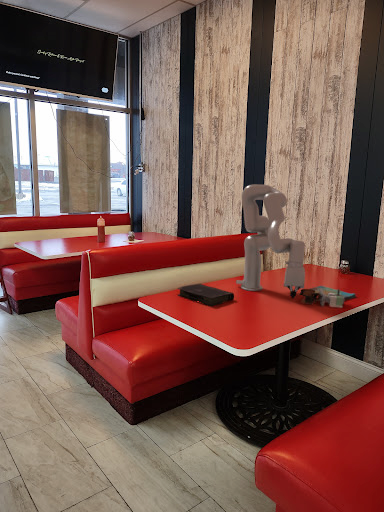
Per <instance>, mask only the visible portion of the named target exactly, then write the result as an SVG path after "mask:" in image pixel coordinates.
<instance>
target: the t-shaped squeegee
mask: <svg viewBox="0 0 384 512" xmlns="http://www.w3.org/2000/svg"><path fill="white" fill-rule="evenodd" d="M337 290H338V291H337V296H339V292H340V291H341V290H340V288H337ZM319 293H320V294H321V299H320V300H319V301H318V302H319V303H320V306H321V307H325V303H328V302H329V301H330V296H331V295H325V294H324V292H323V290H322V288H320V289H319ZM342 297H343V296H342ZM344 299H345V298H344V297H343V303H342V305H344V303H345V300H344Z"/></svg>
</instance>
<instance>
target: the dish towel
mask: <svg viewBox="0 0 384 512" xmlns="http://www.w3.org/2000/svg"><path fill="white" fill-rule="evenodd" d="M320 288H322V290H323V292H324V294H325V295H328V293H337V291H338V289H334V288H332V287H328V286H324V285H318V286H315V287H310V288H309V289H312V290H315V293H319V289H320ZM339 293H340V294H341V296H343V297H344V298H345V299H344V301H347V300H351V299H355V298H357V295H356V293H350V292H346V291H342V290H340V292H339Z"/></svg>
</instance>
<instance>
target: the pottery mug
mask: <svg viewBox="0 0 384 512" xmlns="http://www.w3.org/2000/svg"><path fill="white" fill-rule="evenodd" d="M298 296H302V297H304V298H303V299H301V304H302V303H304V304H308V305H312V304H316V303H317V302H320V301H319V300H320V299H321V294H320V293H315V290H312V289H310V288H301V289H300V292H299V294H298Z"/></svg>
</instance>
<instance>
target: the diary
mask: <svg viewBox="0 0 384 512" xmlns="http://www.w3.org/2000/svg"><path fill="white" fill-rule="evenodd" d="M177 290H179V293H177V296H178V297H180V298H183V297H184V299H186V298H187V299H188V300H189V299H190V301H193V302H195V301H196V302H195V303H198V302H197V301H199V302H201V303H200V304H202V303H203V304H202V305H204V304H205V306H207V305H208V307H210V306H211V307H215V305H216V306H218V304H219V305H222V304H224V303H225V302H228V301H229V300H230V299H231V300H230V301H234V300H235V294H234V292H231V291H226V290H224V289H220V288H217V287H214V286H209V285H205V284H203V283H195V284H188V285H184V286H180V287H178V288H177ZM223 302H224V303H223Z"/></svg>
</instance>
